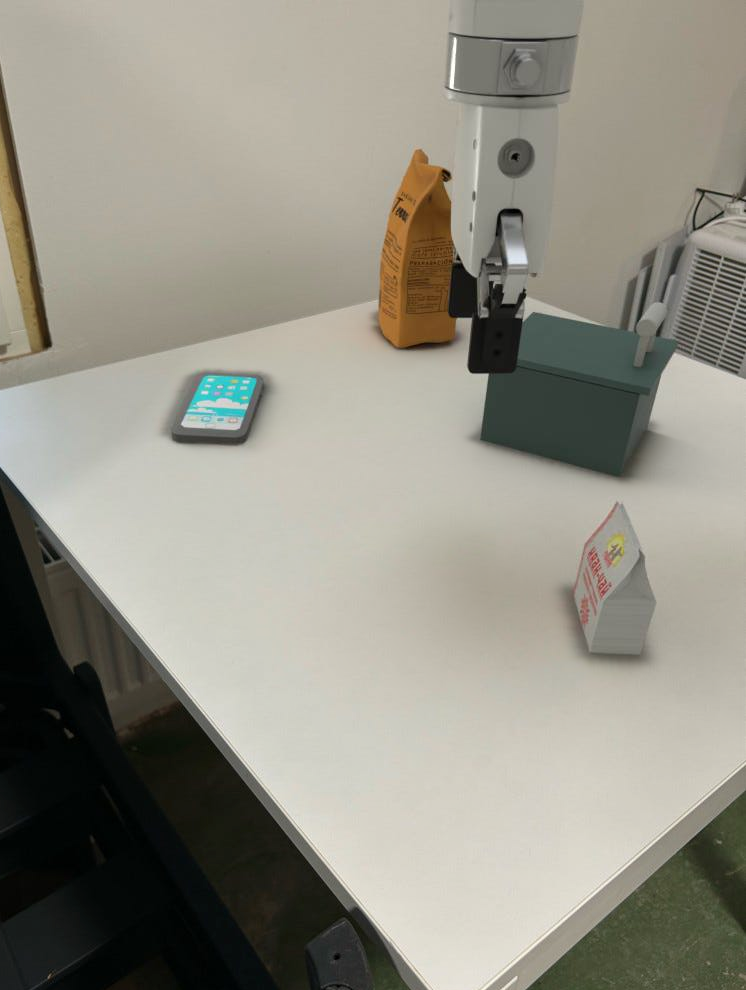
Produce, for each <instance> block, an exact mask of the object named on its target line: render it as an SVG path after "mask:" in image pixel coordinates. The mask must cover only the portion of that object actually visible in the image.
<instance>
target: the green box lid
mask: <svg viewBox="0 0 746 990" xmlns="http://www.w3.org/2000/svg"><path fill="white" fill-rule="evenodd" d="M668 312H669V311H668V307H667V306H666V304H664V303H663V302H660V301H657V302H653V303H652V304H650V306H648V308H647V309H646V311H645V312H644V314H643V315H642V317H641V318H640V319H639V321H638V322H637V324H636V327H635V331H631V330H626V329H621V328H617V327H611V326H606V325H601V324H596V323H592V322H587V321H581V320H576V319H573V318H572V319H571V318H566V317H561V316H556V315H551V314H546V313H541V312H536V311H533V312H531V314H529V315H528V316H527V317H526V318H525V319H523V323H522V330H521V338H520V345H519V352H518V359H517V366H520V367H525V368H529V369H533V370H538V371H542V372H546V373H551V374H555V375H560V376H564V377H568V378H573V379H577V380H581V381H586V382H590V383H595V384H599V385H603V386H608V387H612V388H616V389H621V390H625V391H629V392H634V393H638V394H643V395H647V396H649V395H650V393H651V391H652V390H653V388H654V386H655V385H656V383H657V381H658V379H659V378H660V376H661V377H662V375H661V374H663V373H664V371H665V369H666V367H667V365H668V364H669V362H670V361H671V359H672V357H673V356H674V354H675V352H676V351H677V349H678V346H679V342H680V341H679V340H675V339H670V338H666V337H661V336H656V335H657V330H658V329H659V328H660V326H661V325H662V323H663V321H664V320H665V319H666V317H667V315H668ZM660 379H661V378H660Z"/></svg>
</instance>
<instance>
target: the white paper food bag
mask: <svg viewBox="0 0 746 990" xmlns="http://www.w3.org/2000/svg"><path fill="white" fill-rule="evenodd" d="M612 507H613V508H612V509H611V511H610V512H609V514H608V515H607V516H606V518H605V519H604V520H603V521H602V523H601V524H600V525H599V526H598V527H597V529H596V530H595V531H594V532H593V533H592V534H591V536H590V537H589V538H588V540H586V542H585V543H584V545H583V550H582V554H581V559H580V563H579V567H578V572H577V576H576V580H575V584H574V587H573V592H572V596H573V598H574V602H575V606H576V609H577V613H578V616H579V619H580V624H581V627H582V631H583V634H584V637H585V641H586V644H587V645H586V646H587V647H588V651H589V654H611V655H613V654H614V655H637V656H638V655H641V653H642V650H643V647H644V644H645V640H646V637H647V634H648V630H649V628H650V624H651V621H652V618H653V614H654V612H655V608H656V606H657V600H656V598H655V594H654V592H653V589H652V586H651V583H650V580H649V577H648V572H647V568H646V556H645V553H644V551H643V548H642V545H641V544H640V541H639V539H638V536H637V534H636V531H635V529H634V526H633V525H632V521H631V519H630V517H629V515H628V513H627V510H626V508H625V504H624V503H623V502H621V504H620V502H619V501H618V500H616V502H615V503H614V505H613V506H612Z"/></svg>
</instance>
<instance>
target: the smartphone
mask: <svg viewBox="0 0 746 990" xmlns="http://www.w3.org/2000/svg"><path fill="white" fill-rule="evenodd" d="M264 381H265V380H264V377H263V376H261V375H258V374H241V373H221V372H219V373H218V372H202V373H198V374H197V375H195V377H194V379H193V381H192V383H191V385H190V386H189V389H188V391H187V393H186V395H185V397H184V399H183V401H182V403H181V405H180V407H179V409H178V411H177V412H176V413H177V414H176V415H175V417H174V420H173V422H172V425H171V428H170V433H171V439H173V440H174V441H176V442H188V443H189V442H190V443H205V444H206V443H208V444H225V445H227V444H229V445H237V444H242V443H244V442H245V441H246V440H247V439H248V437H249V434H250V431H251V428H252V425H253V423H254V418H255V415H256V413H257V410H258V406H259V403H260V400H261V398H262V396H263V393H264V387H265V382H264Z"/></svg>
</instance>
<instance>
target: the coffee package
mask: <svg viewBox="0 0 746 990" xmlns="http://www.w3.org/2000/svg"><path fill="white" fill-rule="evenodd" d="M452 180H453V176H452V172H451V171H450V169H447V168H445V167H443V166H438V165H432V164H429V157H428V155H426V153H425V152H424V151H423V149H422V148H419V149H414V152H413V155H412V157H411V159H410V163H409V165H408V167H407V170H406V172H405V174H404V176H403V178H402V181H401V183H400V186H399V188H398V190H397V192H396V194H395V197H394V199H393V203H392V205H391V209H390V211H389V214H388V221H387V224H386V230H385V235H384V239H383V244H382V250H381V255H380V263H379V264H380V265H379V290H378V291H379V292H378V323H379V327H380V330H381V332H382V334H383V337H384V338H385V339H386V340H389V341H390V342H391V343H392V345H394V347H396V348H402V349H403V348H409V347H411V346H415V345H419V344H423V343H424V344H425V343H435V344H437V343H445V342H447V341H451V340H453V341H454V339H455V337H456V327H457V320H458V318H451V317H450V316H449V314H448V299H449V287H450V275H451V263H461V262H454V257H453V253H454V246H455V245H454V243H453V240H452V235H451V202H452V199H450V196H449V194H448V191H447V189H446V186H445V183H448V182H451V181H452Z"/></svg>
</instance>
